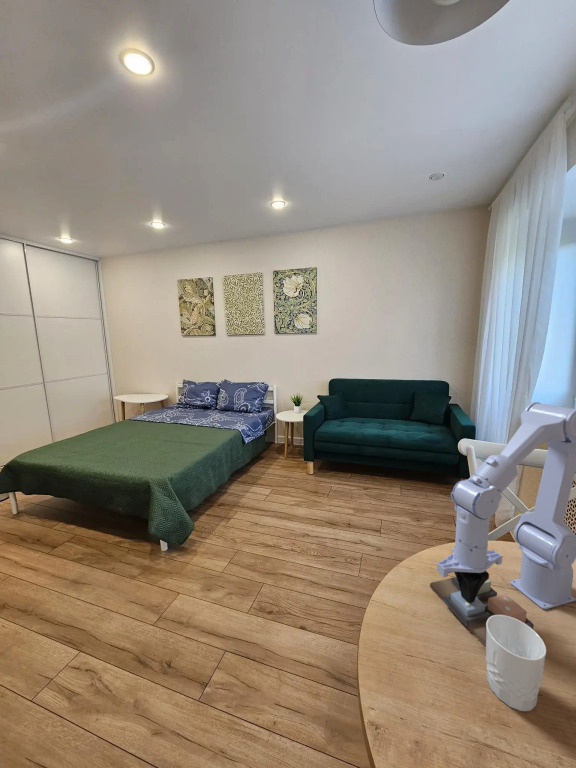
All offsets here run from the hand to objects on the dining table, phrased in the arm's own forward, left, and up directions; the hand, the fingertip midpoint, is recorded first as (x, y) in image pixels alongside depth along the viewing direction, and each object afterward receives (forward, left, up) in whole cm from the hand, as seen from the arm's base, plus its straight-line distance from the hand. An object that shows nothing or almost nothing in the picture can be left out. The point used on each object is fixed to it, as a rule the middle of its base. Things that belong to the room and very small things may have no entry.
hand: (467, 598), depth 65 cm
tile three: (0, 0, -3) cm, 3 cm away
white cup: (+4, +14, -4) cm, 15 cm away
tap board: (-3, 0, -4) cm, 5 cm away
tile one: (-6, -4, -2) cm, 7 cm away
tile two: (-6, +4, -2) cm, 7 cm away
